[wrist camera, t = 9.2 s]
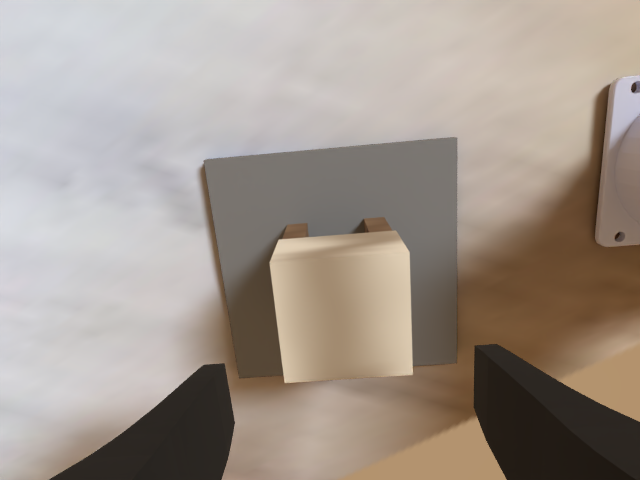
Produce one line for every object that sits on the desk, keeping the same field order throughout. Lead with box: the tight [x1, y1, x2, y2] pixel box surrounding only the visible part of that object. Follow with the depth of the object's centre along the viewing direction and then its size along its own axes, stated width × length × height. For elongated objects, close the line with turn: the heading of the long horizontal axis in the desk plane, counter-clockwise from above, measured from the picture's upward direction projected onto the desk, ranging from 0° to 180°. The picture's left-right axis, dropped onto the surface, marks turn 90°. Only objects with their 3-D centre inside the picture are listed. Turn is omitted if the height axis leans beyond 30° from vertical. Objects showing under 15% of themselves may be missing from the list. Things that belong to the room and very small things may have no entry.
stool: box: [270, 217, 413, 383], centre depth 18 cm, size 5×5×6 cm
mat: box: [204, 137, 457, 378], centre depth 22 cm, size 12×12×1 cm
